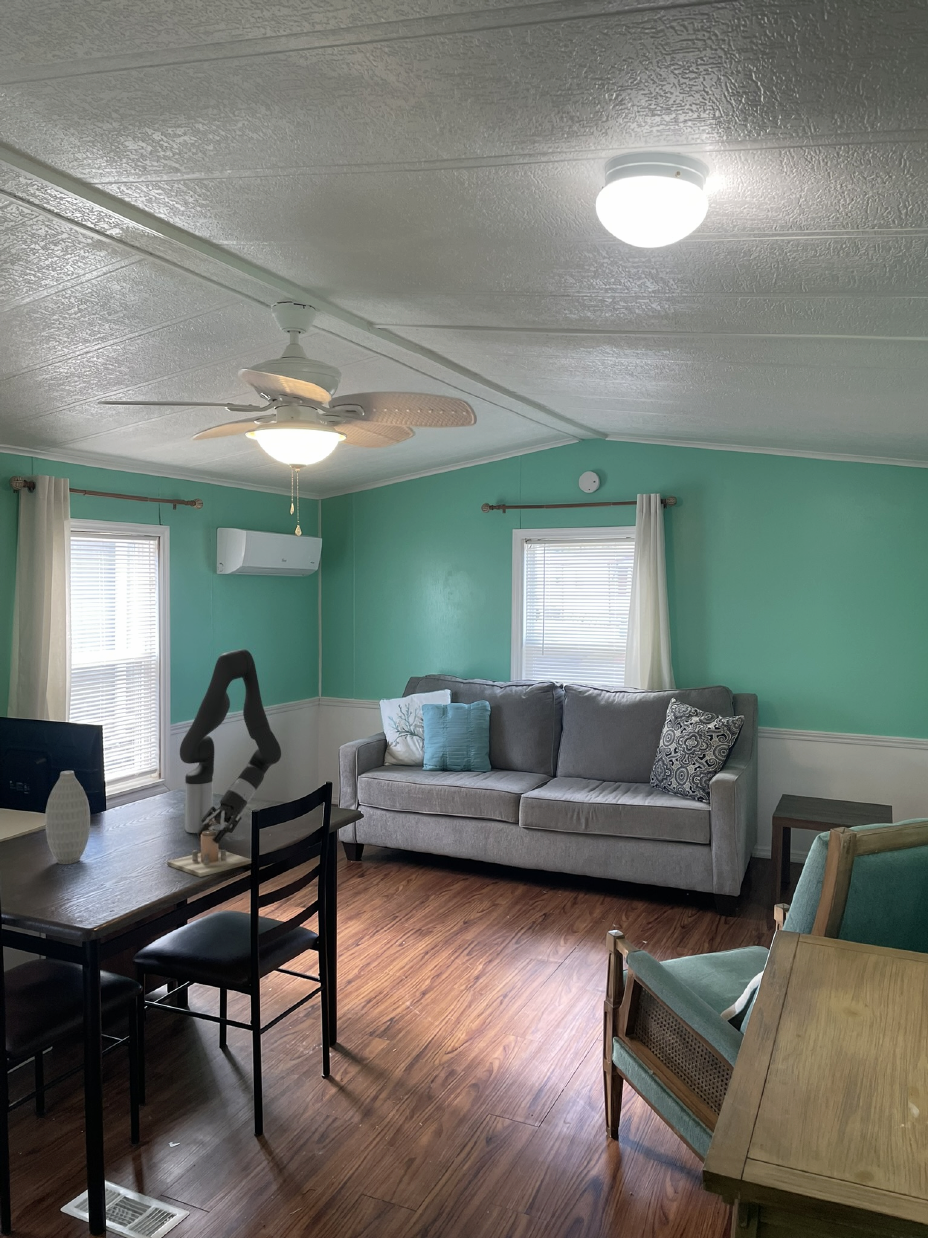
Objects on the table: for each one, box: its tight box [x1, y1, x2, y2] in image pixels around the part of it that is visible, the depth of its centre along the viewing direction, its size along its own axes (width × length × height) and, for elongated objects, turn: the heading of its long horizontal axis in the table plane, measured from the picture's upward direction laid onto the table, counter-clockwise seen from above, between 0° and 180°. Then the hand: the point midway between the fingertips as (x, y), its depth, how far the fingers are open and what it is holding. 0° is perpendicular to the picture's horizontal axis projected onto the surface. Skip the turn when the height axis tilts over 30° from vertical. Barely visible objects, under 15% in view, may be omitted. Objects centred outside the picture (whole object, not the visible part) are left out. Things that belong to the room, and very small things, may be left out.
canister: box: [200, 829, 219, 863], centre depth 280 cm, size 5×5×9 cm
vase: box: [44, 770, 91, 865], centre depth 283 cm, size 13×13×28 cm
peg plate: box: [166, 848, 252, 878], centre depth 280 cm, size 18×18×4 cm
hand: (206, 839), depth 279 cm, fingers open, 8 cm apart
